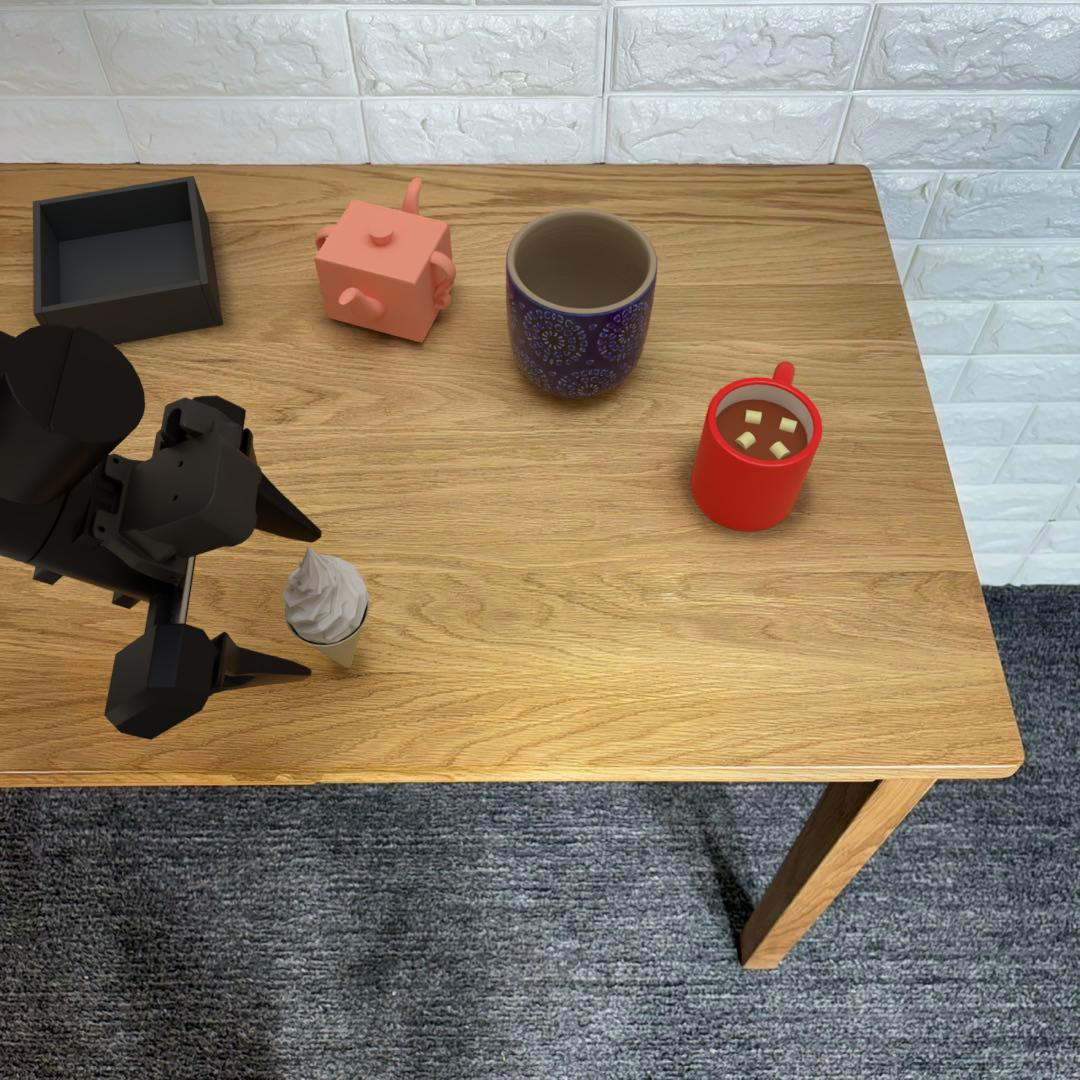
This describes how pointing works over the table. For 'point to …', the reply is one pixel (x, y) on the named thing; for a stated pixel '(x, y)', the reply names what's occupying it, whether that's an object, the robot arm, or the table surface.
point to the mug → (755, 451)
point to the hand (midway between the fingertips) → (313, 603)
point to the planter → (579, 300)
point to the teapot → (386, 267)
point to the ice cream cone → (327, 605)
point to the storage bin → (126, 261)
